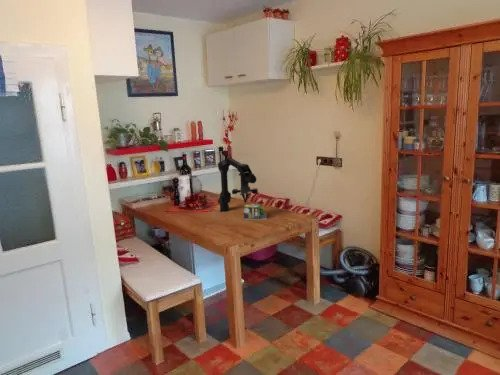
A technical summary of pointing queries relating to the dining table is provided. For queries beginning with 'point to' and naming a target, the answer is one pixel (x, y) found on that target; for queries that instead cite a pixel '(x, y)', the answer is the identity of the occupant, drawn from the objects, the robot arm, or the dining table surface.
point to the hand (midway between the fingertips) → (245, 202)
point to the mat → (263, 217)
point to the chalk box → (253, 211)
